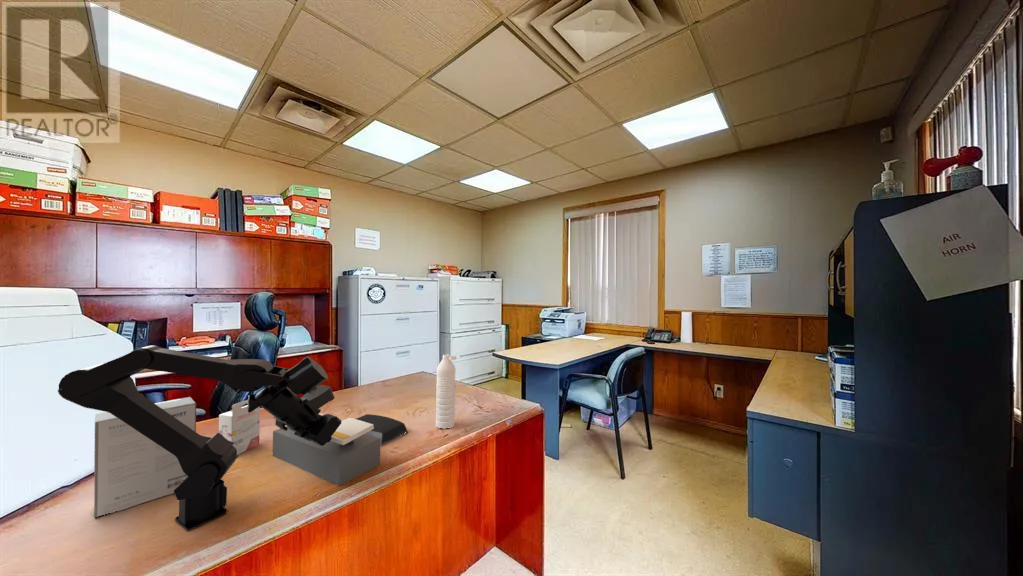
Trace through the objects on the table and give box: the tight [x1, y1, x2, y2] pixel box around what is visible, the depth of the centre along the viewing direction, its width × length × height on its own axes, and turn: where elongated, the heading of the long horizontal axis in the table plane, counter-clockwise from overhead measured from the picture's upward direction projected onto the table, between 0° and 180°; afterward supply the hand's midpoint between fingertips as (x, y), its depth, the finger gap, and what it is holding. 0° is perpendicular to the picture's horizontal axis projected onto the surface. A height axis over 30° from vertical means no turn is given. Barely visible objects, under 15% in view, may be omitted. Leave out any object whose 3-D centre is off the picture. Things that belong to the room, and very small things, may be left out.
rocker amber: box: [330, 417, 374, 445], centre depth 90 cm, size 9×10×1 cm
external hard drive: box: [355, 414, 408, 447], centre depth 112 cm, size 13×19×4 cm
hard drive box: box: [93, 396, 197, 518], centre depth 77 cm, size 16×8×20 cm, turn 141°
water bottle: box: [435, 353, 457, 429], centre depth 118 cm, size 9×6×25 cm
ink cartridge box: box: [218, 399, 261, 456], centre depth 99 cm, size 9×5×15 cm, turn 168°
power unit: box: [272, 428, 381, 487], centre depth 94 cm, size 12×30×9 cm, turn 61°
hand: (329, 440), depth 86 cm, fingers closed, pressing on rocker amber
